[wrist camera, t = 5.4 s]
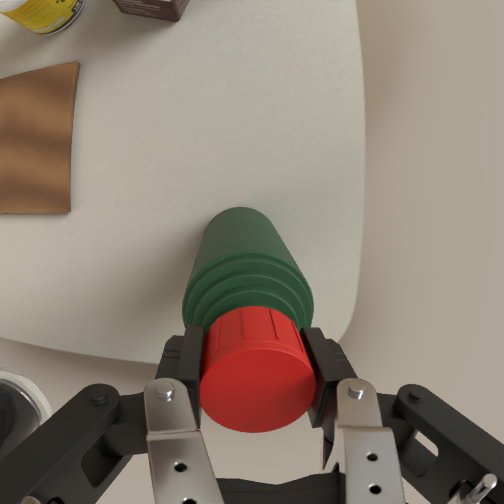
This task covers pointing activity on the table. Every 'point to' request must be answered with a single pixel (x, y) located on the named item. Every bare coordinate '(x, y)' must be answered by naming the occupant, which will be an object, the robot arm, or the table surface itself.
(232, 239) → the bottle
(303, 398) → the cap
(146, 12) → the box
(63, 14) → the pill bottle
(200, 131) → the table surface
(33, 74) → the plate
